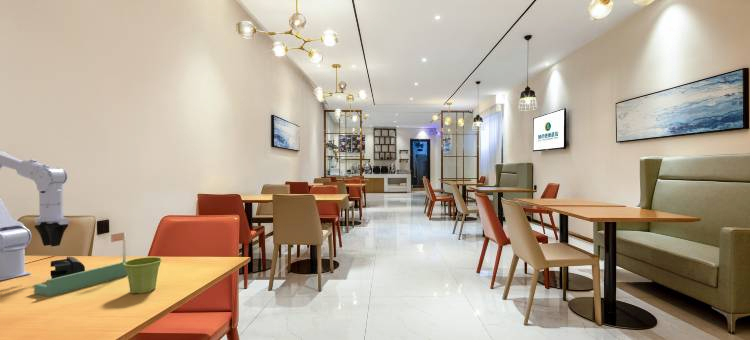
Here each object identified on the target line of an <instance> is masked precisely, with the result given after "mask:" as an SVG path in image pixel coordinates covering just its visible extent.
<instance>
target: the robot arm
mask: <svg viewBox="0 0 750 340" xmlns="http://www.w3.org/2000/svg"><path fill="white" fill-rule="evenodd" d="M3 167H4V168H5V167H6V168H9V169H12V170H15V171H16V173H17V175H19V176H20V177H23V178H27V179H29V180H32V181H33V182H34V184H35V185H36V189H37V191H38V197H39V199H38V200H39V201H38V203H39V205H38V206H39V207H38V208H39V210H38V212H39V213H38V214H39V216H37V217H35V218H34V223H35V225H34V228H35V229H36V232H38V235H39V236H40V239H41V241H42V244H43V246H45V247H46V246H50V247H58V246H60V245H61V243H62V239H63V236H64V233H65V232H66V229H67V228H68V227H69V217H65V216H64V211H63V210H64V208H63V206H64V204H63V203H64V200H63V199H64V198H63V191H64V190H63V185H64V184H65V183H66V182H67V180H68V174H67V172H66V170H64V169H63V168H62V167H54V168H53V167H51V165H49V164H42V163H40V162H38V160H37V159H33V158H30V159H24V160H21V159H20V158H17V157H16V156H13V155H11V154H8V153H7V152H6V151H1V150H0V170H2V168H3ZM32 235H33V234H32V233H31V230H30V229H29V228H27V227H26V226H25V225H24V223H23V222H21V221H19V220H15V219H13V218H12V216H11V214H10V212H9V210H8V209H7V207H6V205H5V203H4V201H3V200H2V198H1V197H0V281H4V280H9V279H14V278H18V277H23V276H27V275H31V274H32V272H31V271H30V272H29V271H26V269H25V268H26V267H25V266H26V258H25V257H26V255H25V254H26V253H25V249H26V248H27V247H28V245H29V244H30V242H31V241H32Z"/></svg>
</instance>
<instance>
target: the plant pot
mask: <svg viewBox="0 0 750 340" xmlns="http://www.w3.org/2000/svg"><path fill="white" fill-rule="evenodd" d="M162 260H163V258H162V257H159V256H148V257H147V256H146V257H139V258H133V259H129V260H126V262H124V263H123V265H124V266H125V268H126V270H127V280H128V285H129V291H130V293H131V294H140V295H141V294H147V293H150V292H152V291H153V290H156V286H157V280H158V274H159V273H158V272H159V268H160V266H161V262H162Z"/></svg>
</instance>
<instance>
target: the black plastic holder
mask: <svg viewBox="0 0 750 340" xmlns="http://www.w3.org/2000/svg"><path fill="white" fill-rule="evenodd" d="M50 267H51V268H53V267H54V270H50V277H51V278H50V279H53V278H57V277H62V276H66V275H70V274H74V273H79V272H83V271H86V267H85V265H84V264H83V263H82V262H81V261H80V260H78V259H77V258H75V257H73V256H67V257H66V258H63V259H57V260H56V259H55V260H51V261H50Z"/></svg>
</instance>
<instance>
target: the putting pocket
mask: <svg viewBox="0 0 750 340" xmlns="http://www.w3.org/2000/svg"><path fill="white" fill-rule="evenodd" d="M126 234H127V233H126V231H123V232H119V233H112V234H110V235H111V236H110V239H111V240H110V241H111V243H114V242H120V241H122V262H118V263H113V264H109V265H106V266H105V265H104V266H101V267H96V268H93V269H92V268H91V269H88V270H85V271H83V272H79V273H74V274H70V275H66V276H62V277H57V278H53V279H51V278H49V279H46V284H44V283H36V284H34V285H33V286H34V294H35V295H40V296H45V297H54V296H57V295H61V294H64V293H68V292H72V291H75V290H79V289H82V288H86V287H89V286H94V285H97V284H100V283H105V282H108V281H113V280H115V279H118V278H119V279H120V278H124V277H126V276H127V277H128V275H127V270H126V268H125V266H124V265H123V263H124V262H126V261H127V257H126V256H127V254H126V253H127V247H126V244H127V242H126V241H127V240H126V238H127V235H126Z"/></svg>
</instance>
